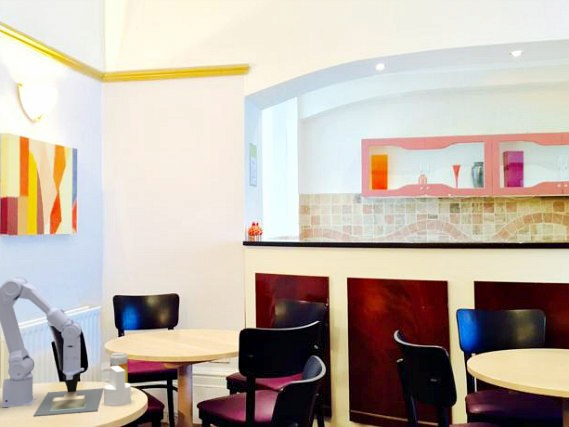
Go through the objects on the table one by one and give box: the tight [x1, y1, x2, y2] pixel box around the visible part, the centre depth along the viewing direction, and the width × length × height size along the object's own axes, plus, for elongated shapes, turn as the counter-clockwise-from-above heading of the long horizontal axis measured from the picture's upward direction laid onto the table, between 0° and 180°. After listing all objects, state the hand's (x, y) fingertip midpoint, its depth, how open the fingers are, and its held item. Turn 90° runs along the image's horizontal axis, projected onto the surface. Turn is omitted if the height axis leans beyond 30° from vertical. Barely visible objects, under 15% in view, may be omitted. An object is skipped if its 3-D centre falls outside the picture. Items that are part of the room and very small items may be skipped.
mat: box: [33, 387, 104, 418], centre depth 203 cm, size 20×28×1 cm
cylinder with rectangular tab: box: [103, 366, 132, 407], centre depth 201 cm, size 9×9×12 cm
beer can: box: [109, 351, 129, 383], centre depth 212 cm, size 6×6×15 cm
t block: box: [52, 391, 85, 410], centre depth 199 cm, size 10×10×3 cm
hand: (72, 395), depth 204 cm, fingers closed
